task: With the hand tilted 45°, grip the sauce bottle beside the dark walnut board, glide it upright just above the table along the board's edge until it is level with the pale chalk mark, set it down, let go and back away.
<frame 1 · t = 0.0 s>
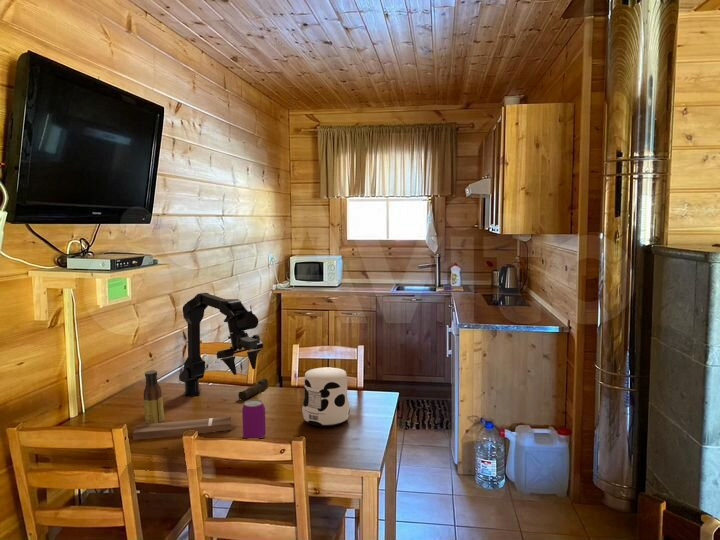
hand: (244, 371, 200), 15 cm above the table, tool pointing down, fingers open, 9 cm apart
walnut board: (184, 431, 182), on the table
sauce bottle: (154, 425, 188), on the table
milk container: (326, 421, 191), on the table
beverage can: (254, 437, 177), on the table
hand tool: (254, 394, 222), on the table
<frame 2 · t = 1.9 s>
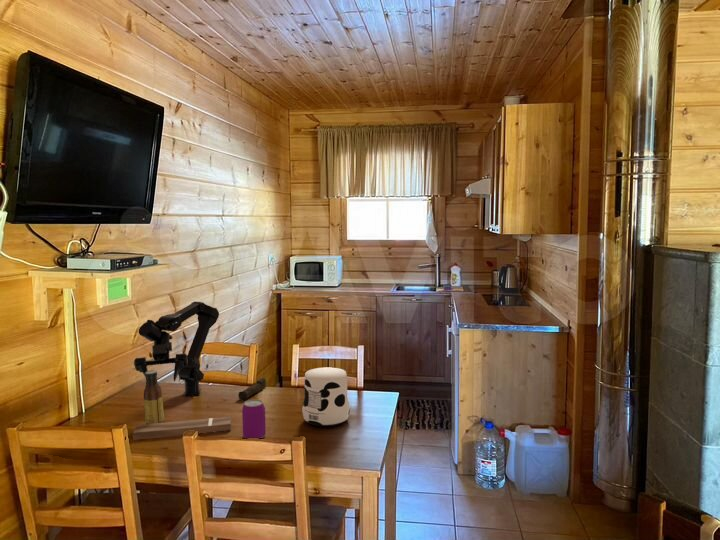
hand: (161, 382, 194), 14 cm above the table, tool tilted 45°, fingers open, 9 cm apart
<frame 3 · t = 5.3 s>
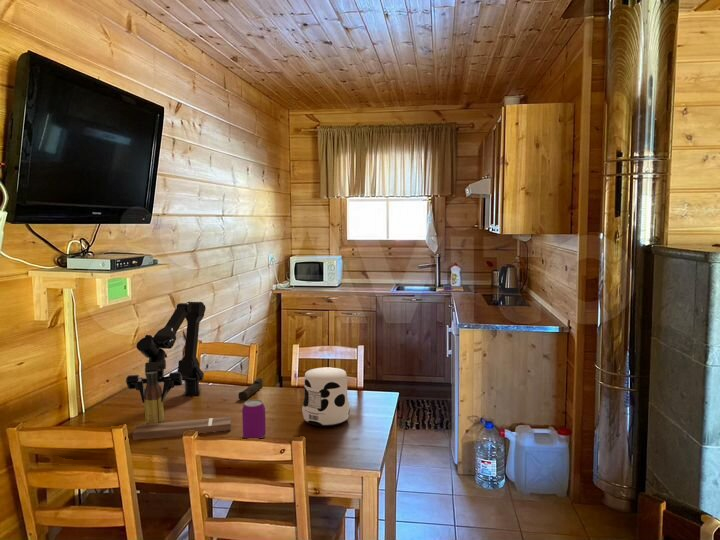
hand: (152, 401, 186), 9 cm above the table, tool tilted 45°, fingers closed on sauce bottle, 6 cm apart
sauce bottle: (154, 425, 188), on the table, touching gripper
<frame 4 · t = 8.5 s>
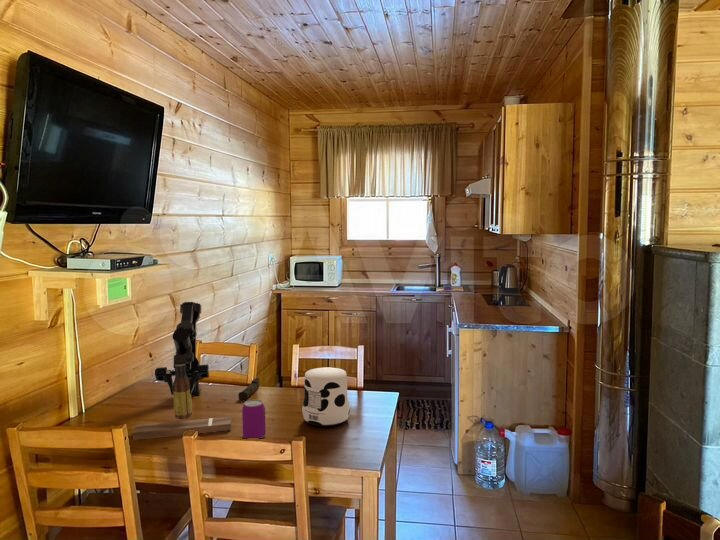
hand: (181, 393, 188), 11 cm above the table, tool tilted 45°, fingers closed on sauce bottle, 6 cm apart
sauce bottle: (183, 417, 191), point 2 cm above the table, touching gripper
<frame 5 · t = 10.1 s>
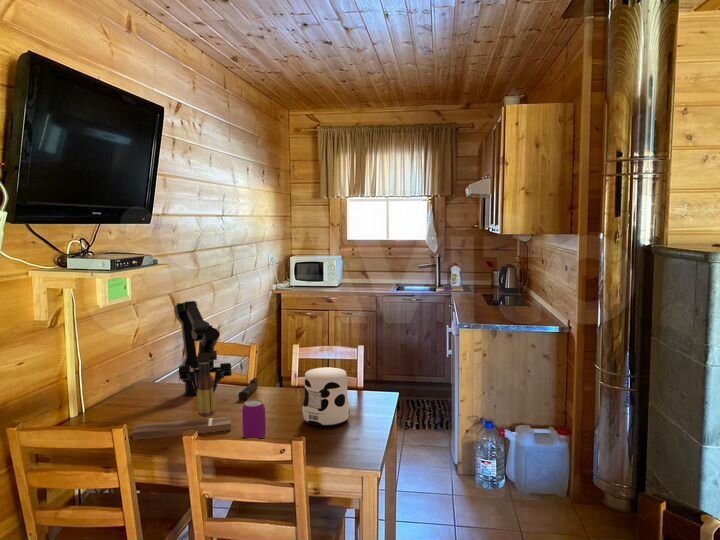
hand: (205, 391, 190), 11 cm above the table, tool tilted 45°, fingers closed on sauce bottle, 6 cm apart
sauce bottle: (206, 415, 192), point 2 cm above the table, touching gripper
when the fingers open (10 cm above the table, at t = 11.8 s): sauce bottle stays where it is, on the table.
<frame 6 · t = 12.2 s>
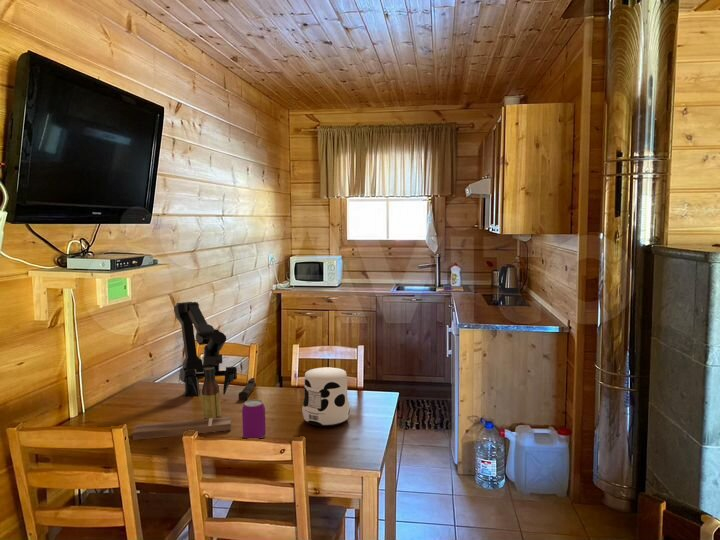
hand: (210, 395, 190), 10 cm above the table, tool tilted 45°, fingers open, 9 cm apart
sauce bottle: (211, 420, 193), on the table
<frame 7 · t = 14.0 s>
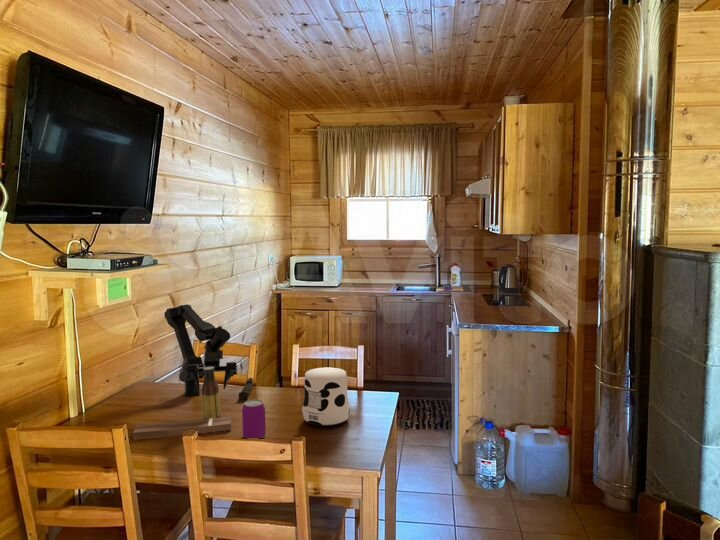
hand: (211, 389, 197), 10 cm above the table, tool tilted 45°, fingers open, 9 cm apart
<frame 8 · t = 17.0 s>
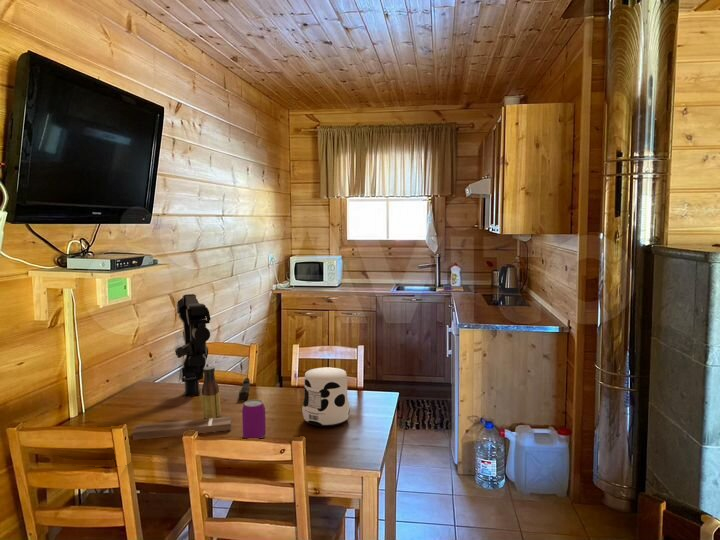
hand: (199, 376, 203), 13 cm above the table, tool pointing down, fingers open, 9 cm apart
at the end: sauce bottle inside the target area (0.2 cm from its centre), on the table; sauce bottle tilted 0°; the gripper is holding nothing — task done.
